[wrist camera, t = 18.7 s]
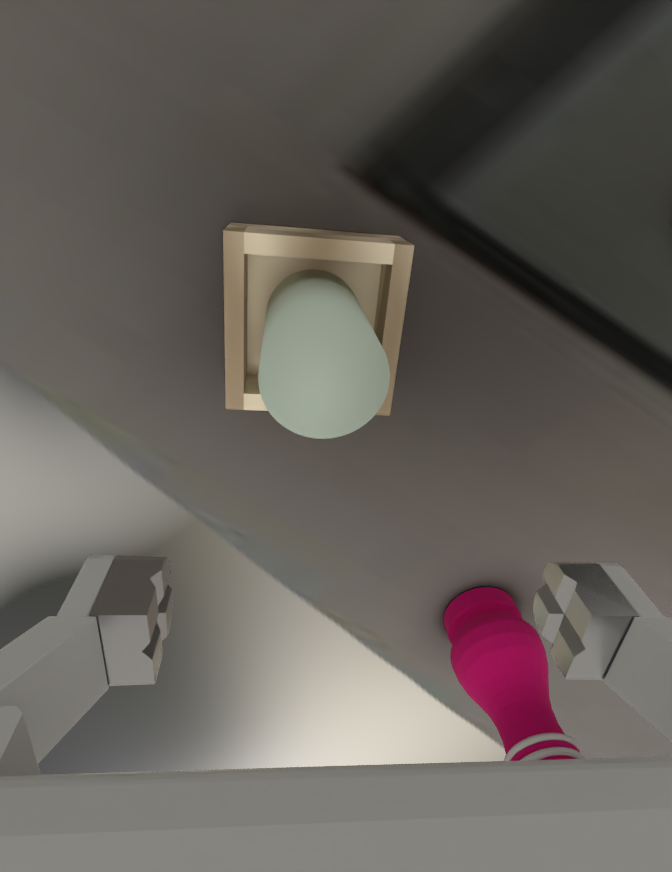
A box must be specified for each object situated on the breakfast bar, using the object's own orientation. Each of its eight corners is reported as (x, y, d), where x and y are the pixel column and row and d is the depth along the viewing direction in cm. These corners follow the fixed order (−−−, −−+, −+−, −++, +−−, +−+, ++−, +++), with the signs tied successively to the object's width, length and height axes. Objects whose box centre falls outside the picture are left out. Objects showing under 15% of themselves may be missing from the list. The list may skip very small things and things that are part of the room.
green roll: (364, 272, 29) (398, 319, 21) (354, 364, 32) (381, 440, 23) (267, 265, 29) (259, 310, 20) (265, 359, 31) (257, 436, 23)
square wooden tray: (399, 235, 30) (414, 245, 26) (378, 389, 34) (389, 415, 30) (230, 222, 29) (222, 230, 25) (232, 382, 33) (225, 409, 29)
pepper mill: (424, 603, 43) (520, 903, 26) (505, 568, 42) (661, 856, 25) (454, 653, 47) (557, 949, 29) (529, 622, 46) (683, 910, 28)
